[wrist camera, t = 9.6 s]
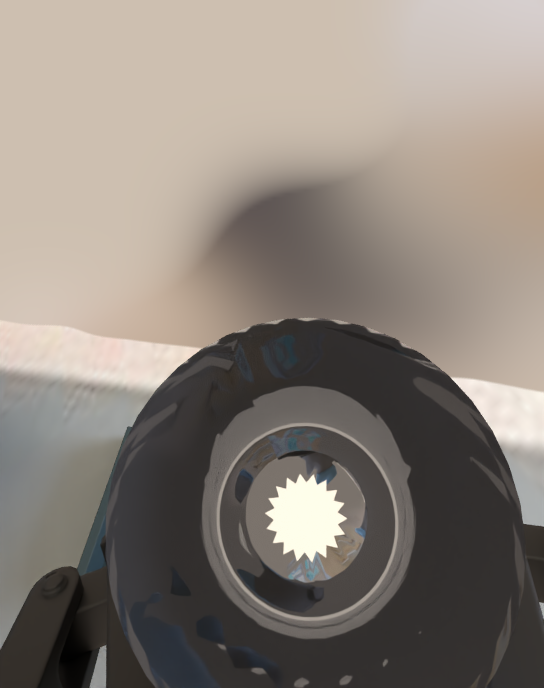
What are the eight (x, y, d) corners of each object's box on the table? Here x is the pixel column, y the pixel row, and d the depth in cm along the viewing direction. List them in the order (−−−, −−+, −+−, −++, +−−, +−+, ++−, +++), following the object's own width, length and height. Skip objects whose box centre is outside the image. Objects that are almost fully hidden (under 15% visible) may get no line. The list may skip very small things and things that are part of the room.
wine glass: (210, 493, 22) (66, 407, 9) (332, 429, 23) (368, 269, 10) (272, 652, 18) (184, 915, 5) (413, 567, 20) (637, 605, 6)
